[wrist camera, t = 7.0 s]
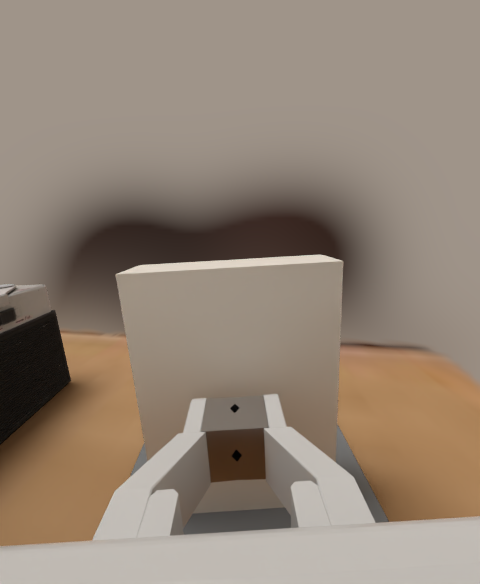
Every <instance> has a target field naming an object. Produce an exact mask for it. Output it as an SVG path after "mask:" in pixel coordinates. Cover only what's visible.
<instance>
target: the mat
mask: <svg viewBox="0 0 480 584" xmlns="http://www.w3.org/2000/svg"><path fill="white" fill-rule="evenodd" d="M146 462H147V455H146V449H145V443H144V445H143V447H142V450H141V452H140V454H139V457H138V459H137V461H136V464H135V466H134V469H133V471H132V473H131V476H132V475H133V474H134V473H135V472H136V471H138V470H139V469H140V468H141V467H142V466H143V465H144V464H145V463H146ZM336 463H337V464H338V465H339V466H341V467H342V468H343V469H344V470H346V471H347V472H348V473H349V474H351V475H352V476H353V477H354V479H355V481H356V483H357V485H358V487H359V489H360V491H361V493H362V495H363V497H364V499H365V502H366V504H367V506H368V508H369V510H370V512H371V514H372V516H373V518H374V520H375V522H376V523H381V522H389V521H388V519H387V517H386V515H385V513H384V511H383V510H382V508H381V506H380V504H379V502H378V500H377V498H376V496H375V494H374V493H373V491H372V489H371V487H370V485H369V483H368V481H367V479H366V477H365V476H364V474H363V472H362V470H361V468H360V466H359V464H358V462H357V460H356V459H355V457H354V455H353V453H352V451H351V449H350V447H349V445H348V443H347V442H346V440H345V438H344V436H343V434H342V432H341V430H340V428H339V426H338V425H337V440H336ZM131 476H130V477H131ZM283 528H291V515H290V514H289V512H288V511H287V510H286V508H285V507H283V508H268V509H253V510H238V511H223V512H208V513H193V514H192V515H191V517H190V519H189V520H188V522H187V523H186V525H185V527H184V528H183V532H184V535H187V534H203V533H219V532H235V531H251V530H267V529H283Z"/></svg>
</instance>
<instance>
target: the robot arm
mask: <svg viewBox="0 0 480 584" xmlns="http://www.w3.org/2000/svg"><path fill="white" fill-rule="evenodd" d="M259 479H266V482H267V483H268V484H269V486H270V487H271V489H272V490H273V491H274V493H275V494H276V496H277V497H278V498H279V500H280V501H281V503H282V504H283V505H284V507H285V508H286V510H287V511H288V512H289V514H290V515H291V528H283V529H267V530H251V531H235V532H219V533H203V534H187V535H184V532H183V528H184V527H185V525H186V523H187V522H188V520H189V519H190V517H191V515H192V514H193V512H194V511H195V509H196V507H197V506H198V504H199V503H200V501H201V499H202V498H203V496H204V495H205V493H206V491H207V490H208V488H209V487H210V485H211V483H212V482H223V481H234V480H259ZM0 584H480V516H476V517H460V518H444V519H429V520H413V521H397V522H381V523H376V522H375V520H374V518H373V516H372V514H371V512H370V510H369V508H368V506H367V504H366V502H365V499H364V497H363V495H362V493H361V491H360V489H359V487H358V485H357V483H356V481H355V479H354V477H353V476H352V475H351V474H349V473H348V472H347V471H346V470H344V469H343V468H342V467H341V466H339V465H338V464H337V463H336V462H334V461H333V460H332V459H331V458H330V457H328V456H327V455H326V454H325V453H323V452H322V451H321V450H320V449H318V448H317V447H316V446H315V445H313V444H312V443H311V442H310V441H308V440H307V439H306V438H305V437H303V436H302V435H301V434H300V433H298V432H297V431H296V430H295V429H293V428H292V427H287V425H286V422H285V418H284V414H283V410H282V407H281V403H280V399H279V395H278V394H267V395H260V396H246V397H220V398H198V399H192V401H191V403H190V407H189V411H188V415H187V418H186V422H185V426H184V430H183V433H178V434H177V435H176V436H175V437H174V438H173V439H172V440H171V441H169V442H168V443H167V444H166V445H165V446H164V447H163V448H162V449H161V450H160V451H158V452H157V453H156V454H155V455H154V456H153V457H152V458H151V459H150V460H149V461H147V462H146V463H145V464H144V465H143V466H142V467H141V468H140V469H139V470H138V471H136V472H135V473H134V474H133V475H132V476H131V477H130V478H129V479H128V480H126V481H125V482H124V483H123V484H122V485H121V486H120V487H119V488H118V489H117V490H115V492H114V494H113V496H112V498H111V501H110V503H109V505H108V507H107V509H106V511H105V514H104V516H103V518H102V520H101V522H100V524H99V527H98V529H97V531H96V533H95V535H94V537H93V540H92V541H76V542H60V543H44V544H28V545H12V546H0Z"/></svg>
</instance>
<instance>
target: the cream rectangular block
mask: <svg viewBox="0 0 480 584" xmlns="http://www.w3.org/2000/svg"><path fill="white" fill-rule="evenodd" d="M342 279H343V261H341V260H338V259H334V258H331V257H327V256H324V255H306V256H291V257H273V258H257V259H256V258H255V259H238V260H221V261H204V262H188V263H170V264H154V265H139V266H137V267H134V268H131V269H129V270H126V271H124V272H121V273H118V274H116V280H117V285H118V292H119V297H120V303H121V309H122V315H123V321H124V327H125V332H126V338H127V344H128V350H129V356H130V362H131V368H132V373H133V379H134V385H135V391H136V397H137V403H138V408H139V414H140V420H141V426H142V432H143V438H144V443H145V449H146V455H147V461H149V460H150V459H151V458H152V457H153V456H154V455H155V454H156V453H157V452H158V451H160V450H161V449H162V448H163V447H164V446H165V445H166V444H167V443H168V442H169V441H171V440H172V439H173V438H174V437H175V436H176V435H177V434H178V433H183V430H184V426H185V422H186V418H187V415H188V411H189V407H190V403H191V401H192V399H198V398H220V397H246V396H260V395H267V394H278V395H279V399H280V403H281V407H282V410H283V414H284V418H285V422H286V425H287V427H292V428H293V429H295V430H296V431H297V432H298V433H300V434H301V435H302V436H303V437H305V438H306V439H307V440H308V441H310V442H311V443H312V444H313V445H315V446H316V447H317V448H318V449H320V450H321V451H322V452H323V453H325V454H326V455H327V456H328V457H330V458H331V459H332V460H333V461H334V462H336V440H337V413H338V386H339V359H340V332H341V331H340V330H341V306H342ZM283 507H284V505H283V504H282V503H281V501H280V500H279V498H278V497H277V496H276V494H275V493H274V491H273V490H272V489H271V487H270V486H269V484H268V483H267V482H266V479H259V480H234V481H223V482H212V483H211V485H210V487H209V488H208V490H207V491H206V493H205V495H204V496H203V498H202V499H201V501H200V503H199V504H198V506H197V507H196V509H195V511H194V512H193V513H208V512H223V511H238V510H253V509H268V508H283Z"/></svg>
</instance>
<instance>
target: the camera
mask: <svg viewBox="0 0 480 584" xmlns="http://www.w3.org/2000/svg"><path fill="white" fill-rule="evenodd" d="M70 381H71V379H70V374H69V370H68V365H67V361H66V356H65V352H64V348H63V343H62V339H61V334H60V330H59V325H58V321H57V316H56V312H55V310H51V307H50V303H49V299H48V294H47V290H46V286H45V285H22V286H16V285H13V284H7V285H0V444H1V443H2V442H3V441H4V440H5V439H6V438H7V437H8V436H10V435H11V434H12V433H13V432H14V431H15V430H16V429H17V428H19V427H20V426H21V425H22V424H23V423H24V422H25V421H26V420H27V419H29V418H30V417H31V416H32V415H33V414H34V413H35V412H36V411H37V410H39V409H40V408H41V407H42V406H43V405H44V404H45V403H46V402H48V401H49V400H50V399H51V398H52V397H53V396H54V395H55V394H56V393H58V392H59V391H60V390H61V389H62V388H63V387H64V386H65V385H66V384H68V383H69V382H70Z"/></svg>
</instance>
